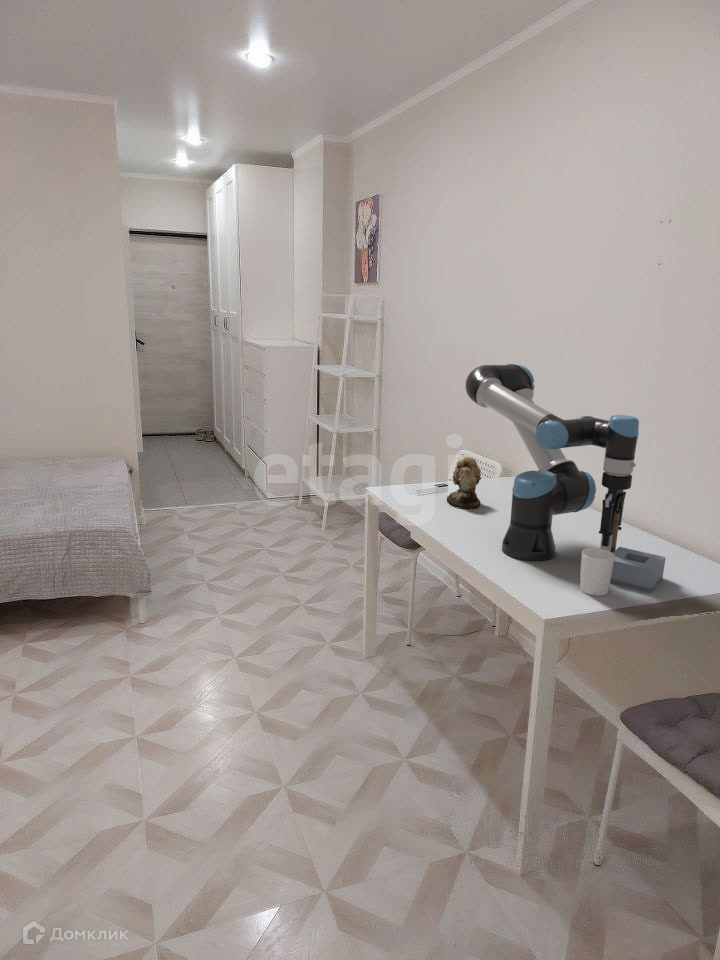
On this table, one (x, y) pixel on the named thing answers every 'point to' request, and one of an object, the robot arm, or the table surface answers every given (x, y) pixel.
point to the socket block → (637, 569)
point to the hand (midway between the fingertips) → (607, 553)
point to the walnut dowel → (615, 532)
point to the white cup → (596, 571)
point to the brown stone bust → (465, 484)
